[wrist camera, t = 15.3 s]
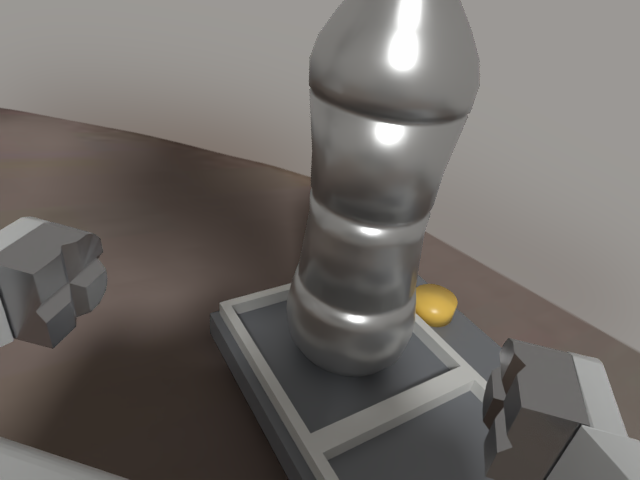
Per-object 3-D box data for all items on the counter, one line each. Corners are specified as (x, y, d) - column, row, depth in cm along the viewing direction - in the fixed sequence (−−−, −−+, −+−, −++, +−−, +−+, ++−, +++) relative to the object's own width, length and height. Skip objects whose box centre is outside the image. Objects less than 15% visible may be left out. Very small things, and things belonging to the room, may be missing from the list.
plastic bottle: (359, 418, 22) (486, -103, 12) (257, 343, 26) (282, -119, 15) (425, 347, 27) (561, -79, 16) (330, 291, 30) (391, -95, 19)
